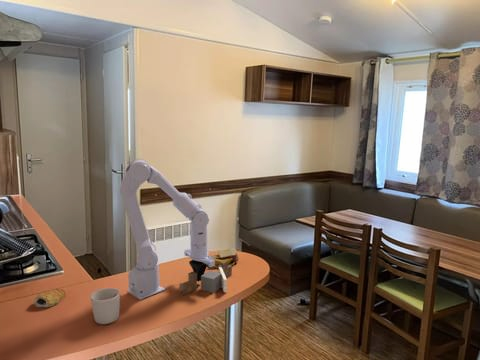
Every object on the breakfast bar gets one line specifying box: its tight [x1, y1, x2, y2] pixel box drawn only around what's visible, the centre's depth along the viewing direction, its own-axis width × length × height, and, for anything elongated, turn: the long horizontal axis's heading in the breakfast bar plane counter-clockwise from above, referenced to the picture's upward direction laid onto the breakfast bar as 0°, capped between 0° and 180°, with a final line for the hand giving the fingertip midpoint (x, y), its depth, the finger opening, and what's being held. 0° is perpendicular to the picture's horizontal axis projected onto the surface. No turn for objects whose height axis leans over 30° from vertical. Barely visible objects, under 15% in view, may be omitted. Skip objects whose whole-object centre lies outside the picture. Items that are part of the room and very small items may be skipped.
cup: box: [90, 287, 121, 325], centre depth 108 cm, size 11×8×8 cm
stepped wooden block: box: [179, 260, 233, 296], centre depth 129 cm, size 22×2×6 cm, turn 135°
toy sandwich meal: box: [207, 247, 240, 269], centre depth 148 cm, size 12×14×5 cm
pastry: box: [33, 287, 66, 308], centre depth 118 cm, size 9×7×4 cm
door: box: [218, 265, 228, 293], centre depth 128 cm, size 11×1×5 cm, turn 13°
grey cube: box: [200, 270, 222, 294], centre depth 126 cm, size 5×5×5 cm
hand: (199, 280), depth 130 cm, fingers closed
